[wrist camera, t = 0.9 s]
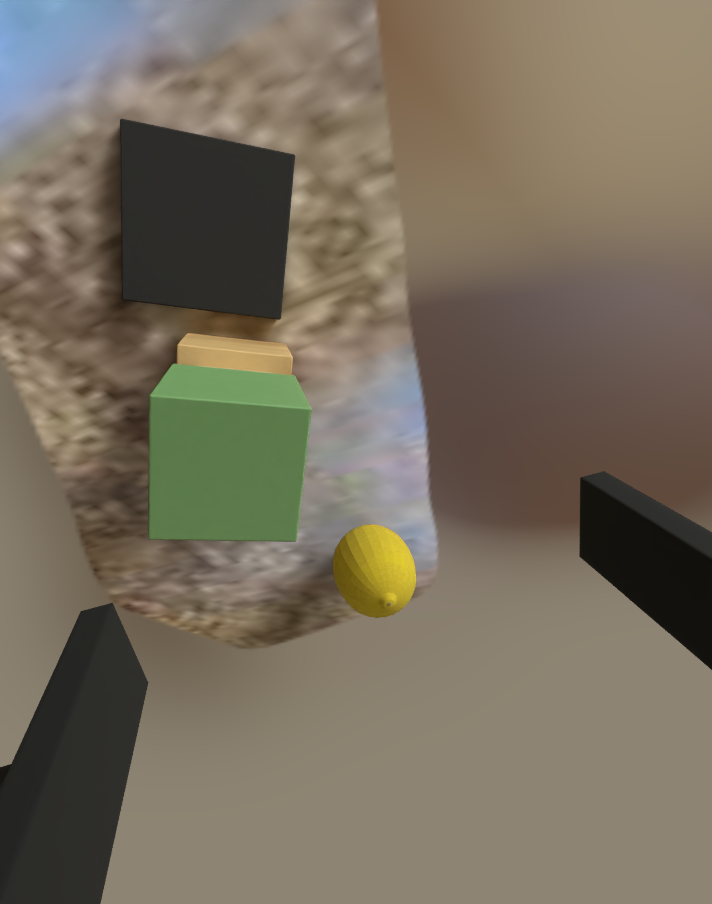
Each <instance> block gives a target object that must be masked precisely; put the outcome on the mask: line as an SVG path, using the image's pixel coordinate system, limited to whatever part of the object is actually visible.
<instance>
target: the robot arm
mask: <svg viewBox="0 0 712 904" xmlns="http://www.w3.org/2000/svg"><path fill="white" fill-rule="evenodd" d="M580 479H581V480H580V482H581V483H580V557H581V558H582V559H583V560H584V561H586V562H587V563H588V564H589V565H590V566H591V567H592V568H594V569H595V570H596V571H597V572H598V573H600V574H601V575H602V576H603V577H604V578H605V579H607V580H608V581H609V582H610V583H611V584H613V586H615V587H616V588H617V589H618V590H619V591H621V592H622V593H623V594H624V595H625V596H626V597H628V598H629V599H630V600H631V601H632V602H633V603H634V604H636V605H637V606H638V607H639V608H640V609H641V610H643V611H644V612H645V613H646V614H647V615H648V616H650V617H651V618H652V619H653V620H654V621H655V622H657V623H658V624H659V625H660V626H661V627H663V628H664V629H665V630H666V631H667V632H668V633H670V634H671V635H672V636H673V637H674V638H675V639H677V640H678V641H679V642H680V643H681V644H682V645H684V646H685V647H686V648H687V649H688V650H689V651H690V652H692V653H693V654H694V655H695V656H697V658H699V659H700V660H701V661H702V662H703V663H704V664H706V665H707V666H708V667H709V668H710V669H711V670H712V532H710V531H708V530H707V529H705V528H703V527H702V526H700V525H698V524H696V523H695V522H693V521H691V520H689V519H687V518H686V517H684V516H682V515H680V514H679V513H677V512H675V511H673V510H671V509H670V508H668V507H666V506H665V505H662V504H661V503H659V502H657V501H656V500H654V499H652V498H650V497H648V496H647V495H645V494H643V493H641V492H640V491H638V490H636V489H634V488H633V487H631V486H629V485H627V484H626V483H624V482H622V481H620V480H619V479H617V478H615V477H613V476H611V475H610V474H608V473H606V472H600V473H596V474H592V475H589V476H585V477H581V478H580ZM147 686H148V681H147V679H146V677H145V675H144V672H143V670H142V668H141V665H140V663H139V661H138V659H137V657H136V654H135V652H134V650H133V648H132V645H131V643H130V641H129V639H128V636H127V634H126V632H125V630H124V627H123V625H122V623H121V621H120V619H119V616H118V614H117V612H116V610H115V607H114V605H113V603H110V604H107V605H103V606H99V607H95V608H92V609H88V610H84V611H81V612H80V615H79V617H78V619H77V621H76V623H75V625H74V628H73V630H72V632H71V634H70V636H69V639H68V641H67V643H66V645H65V648H64V650H63V652H62V654H61V656H60V658H59V661H58V663H57V665H56V667H55V669H54V672H53V674H52V676H51V679H50V681H49V683H48V685H47V687H46V689H45V691H44V694H43V696H42V698H41V700H40V702H39V705H38V707H37V709H36V711H35V714H34V716H33V718H32V720H31V722H30V724H29V727H28V729H27V731H26V733H25V735H24V738H23V740H22V742H21V744H20V747H19V749H18V751H17V753H16V755H15V757H14V760H13V762H12V764H10V765H7V766H4V767H0V904H100V903H101V898H102V893H103V889H104V885H105V879H106V875H107V871H108V866H109V861H110V857H111V851H112V848H113V843H114V838H115V833H116V829H117V824H118V820H119V815H120V811H121V806H122V801H123V797H124V792H125V788H126V783H127V778H128V773H129V769H130V764H131V760H132V755H133V750H134V746H135V741H136V736H137V732H138V727H139V723H140V718H141V713H142V709H143V704H144V700H145V695H146V690H147Z"/></svg>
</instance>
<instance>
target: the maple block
mask: <svg viewBox="0 0 712 904" xmlns="http://www.w3.org/2000/svg"><path fill="white" fill-rule="evenodd" d="M292 362H293V357H292V355H291V353H290V351H289V350H288V348H287V346H286V344H281V343H272V342H263V341H254V340H246V339H237V338H228V337H219V336H210V335H201V334H192V333H187V334H186V335H185V336H184V338H183V339H182V340H181V341H180V342H179V343H178V345H177V364H182V365H192V366H205V367H215V368H225V369H235V370H246V371H256V372H266V373H274V374H284V375H291V372H292Z"/></svg>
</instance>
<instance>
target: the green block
mask: <svg viewBox="0 0 712 904" xmlns="http://www.w3.org/2000/svg"><path fill="white" fill-rule="evenodd" d="M310 418H311V407H310V405H309V403H308V401H307V399H306V397H305V395H304V393H303V391H302V389H301V387H300V385H299V383H298V381H297V379H296V377H295V376H294V375H284V374H274V373H264V372H254V371H243V370H233V369H223V368H213V367H203V366H192V365H182V364H172V365H171V367H170V368H169V369H168V371H167V372H166V373H165V375H164V376H163V378H162V379H161V380H160V382H159V383H158V384H157V386H156V387H155V389H154V390H153V391H152V393H151V394H150V396H149V490H148V538H149V539H153V540H219V541H285V542H295V541H296V540H297V533H298V524H299V515H300V506H301V497H302V489H303V480H304V471H305V462H306V453H307V445H308V436H309V427H310Z"/></svg>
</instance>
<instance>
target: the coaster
mask: <svg viewBox="0 0 712 904" xmlns="http://www.w3.org/2000/svg"><path fill="white" fill-rule="evenodd" d="M120 136H121V227H122V299H123V300H127V301H135V302H143V303H151V304H159V305H167V306H175V307H183V308H191V309H199V310H207V311H215V312H223V313H231V314H239V315H247V316H255V317H263V318H271V319H281V309H282V298H283V286H284V275H285V264H286V252H287V241H288V230H289V218H290V207H291V195H292V184H293V173H294V161H295V155H294V154H289V153H284V152H279V151H274V150H270V149H265V148H260V147H255V146H250V145H246V144H241V143H236V142H231V141H226V140H222V139H217V138H212V137H207V136H202V135H198V134H193V133H188V132H183V131H178V130H174V129H169V128H164V127H159V126H154V125H149V124H145V123H140V122H135V121H130V120H125V119H121V120H120Z"/></svg>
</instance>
